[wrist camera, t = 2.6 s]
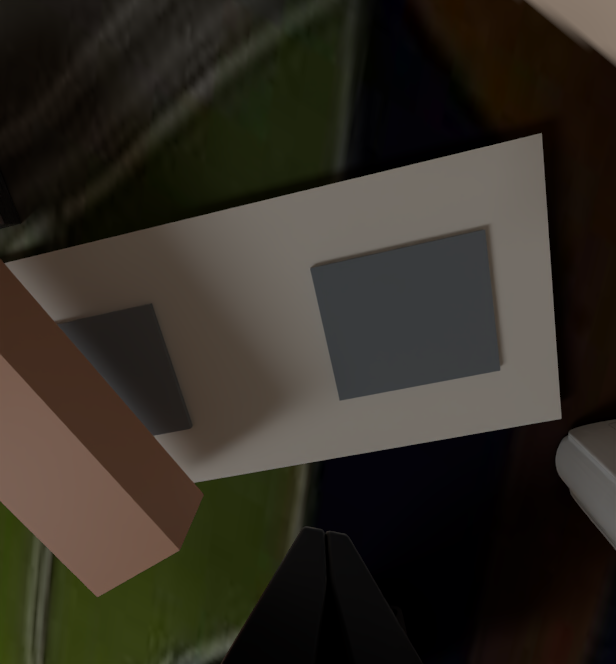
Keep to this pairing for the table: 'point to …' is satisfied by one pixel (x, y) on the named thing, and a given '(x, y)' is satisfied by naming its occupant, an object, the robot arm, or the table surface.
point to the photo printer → (592, 472)
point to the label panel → (325, 315)
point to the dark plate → (7, 207)
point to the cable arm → (81, 455)
